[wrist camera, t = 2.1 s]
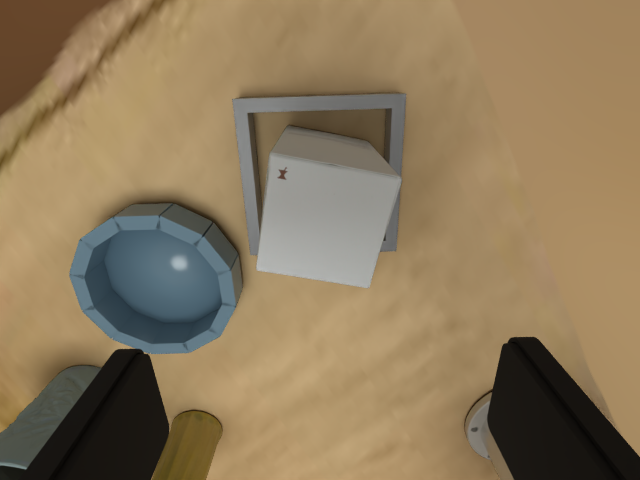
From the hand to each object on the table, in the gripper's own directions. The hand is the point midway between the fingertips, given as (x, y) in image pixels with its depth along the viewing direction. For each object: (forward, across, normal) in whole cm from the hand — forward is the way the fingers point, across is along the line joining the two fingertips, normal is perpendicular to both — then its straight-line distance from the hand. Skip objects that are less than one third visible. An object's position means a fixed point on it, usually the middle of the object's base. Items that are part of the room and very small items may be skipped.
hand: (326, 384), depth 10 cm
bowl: (+24, +15, +9) cm, 30 cm away
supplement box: (+24, 0, 0) cm, 24 cm away
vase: (+24, +16, +31) cm, 43 cm away
